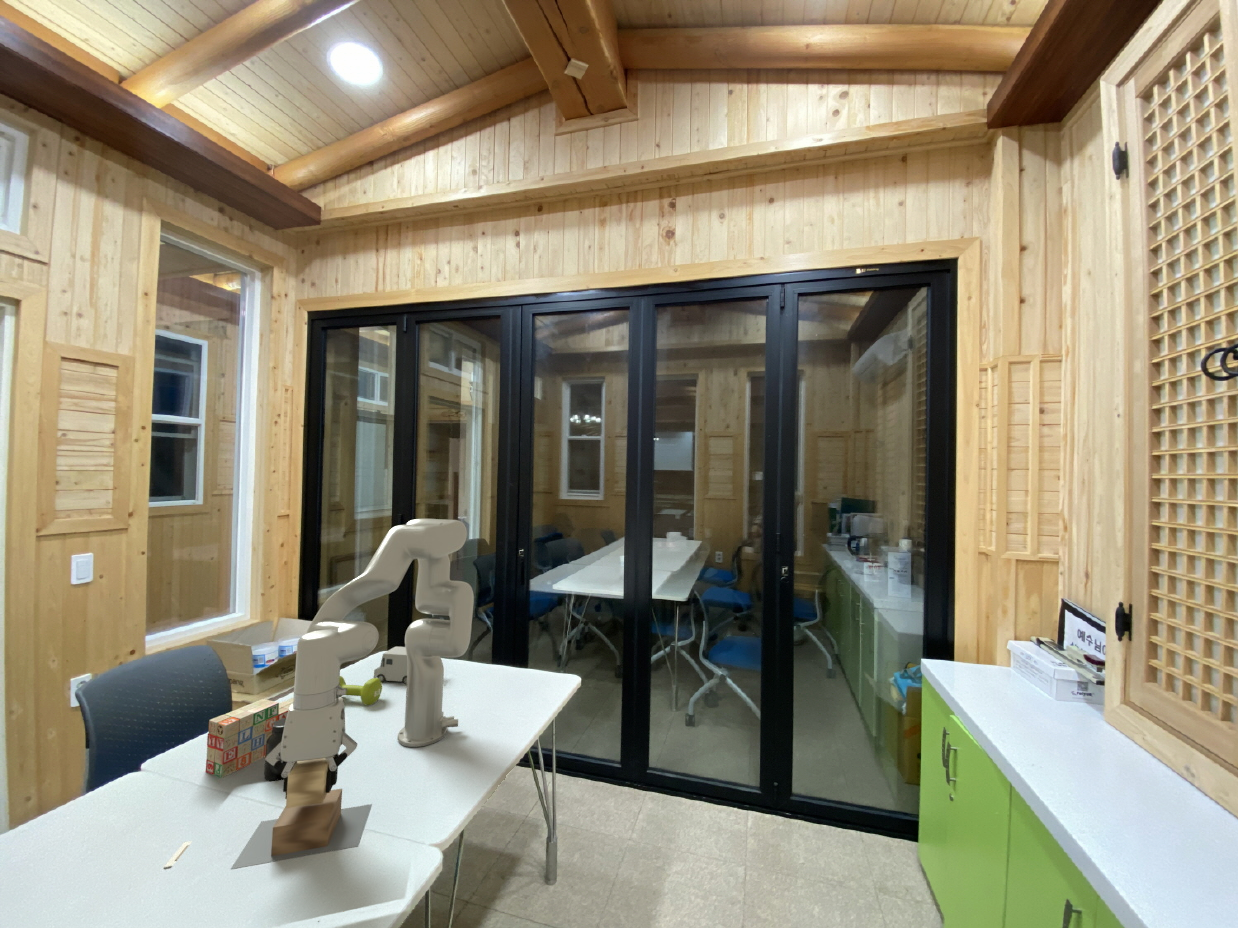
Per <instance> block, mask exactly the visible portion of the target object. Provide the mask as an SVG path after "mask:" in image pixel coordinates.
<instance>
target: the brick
mask: <svg viewBox="0 0 1238 928" xmlns="http://www.w3.org/2000/svg"><path fill="white" fill-rule="evenodd" d="M342 799H343V788H338V789H337V788H336V789H331V791H330V793H327V795H326V797H325V799H324V801H323V803H319V804H312V805H305V806H299V807H292V808H286V805H285V806H284V808H283V810H282V811H281V813H280V815H279V816H278V818H277V819H278V820H277V821H276V823H275V825H274V826H273V833H272V848H271V856H274V855H280V854H286V853H291V852H297V851H303V850H308V849H314V848H320V847H325V846H328V843H329V841H330V838H331V836H332V834H333V831H334V829H335V826H336V824H337V822H338V819H339V817H340V814H341V809H342V803H343V802H342V801H343V800H342Z"/></svg>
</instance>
